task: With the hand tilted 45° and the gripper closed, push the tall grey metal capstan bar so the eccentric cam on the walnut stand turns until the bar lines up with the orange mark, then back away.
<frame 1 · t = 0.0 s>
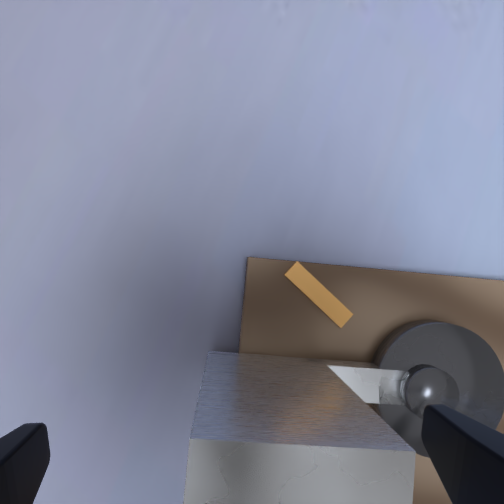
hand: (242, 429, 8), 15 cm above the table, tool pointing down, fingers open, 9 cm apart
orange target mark: (312, 292, 24), resting on walnut stand plate
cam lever: (393, 413, 17), point 8 cm above the table, hinge at 0.0°
walnut stand plate: (392, 400, 24), on the table
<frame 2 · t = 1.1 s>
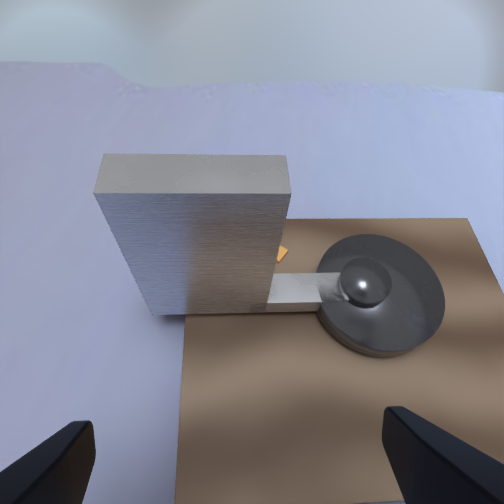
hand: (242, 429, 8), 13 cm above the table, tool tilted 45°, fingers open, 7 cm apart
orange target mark: (253, 251, 27), resting on walnut stand plate
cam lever: (313, 252, 18), point 8 cm above the table, hinge at 0.0°
walnut stand plate: (350, 337, 24), on the table
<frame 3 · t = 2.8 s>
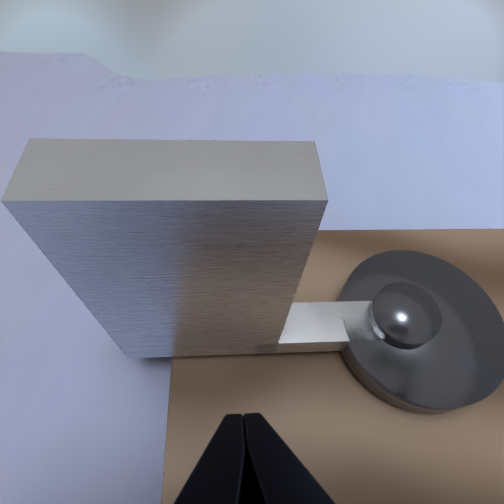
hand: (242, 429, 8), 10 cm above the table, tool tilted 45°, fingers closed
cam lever: (343, 280, 13), point 8 cm above the table, hinge at 0.0°
walnut stand plate: (382, 381, 19), on the table
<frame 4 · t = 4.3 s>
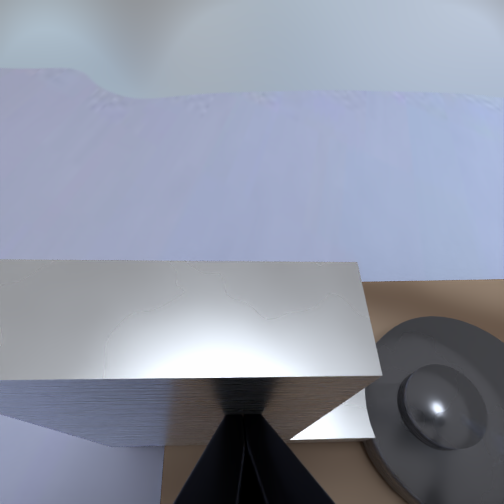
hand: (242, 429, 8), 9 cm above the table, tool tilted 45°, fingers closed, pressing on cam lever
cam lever: (374, 387, 11), point 8 cm above the table, hinge at -1.5°, touching gripper
walnut stand plate: (409, 469, 16), on the table
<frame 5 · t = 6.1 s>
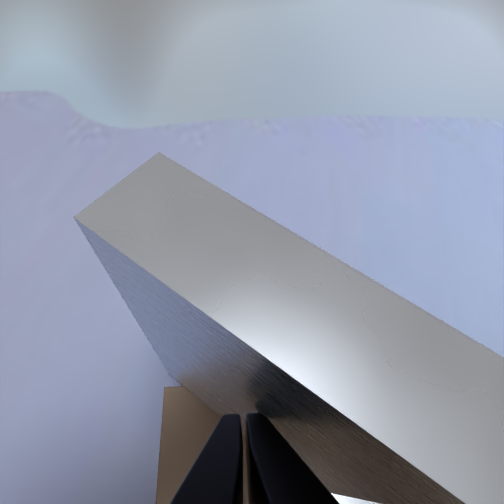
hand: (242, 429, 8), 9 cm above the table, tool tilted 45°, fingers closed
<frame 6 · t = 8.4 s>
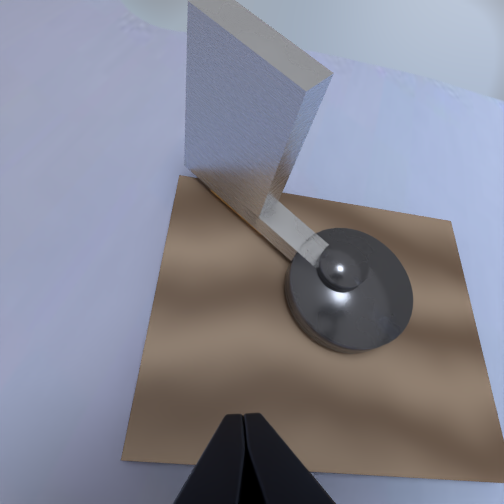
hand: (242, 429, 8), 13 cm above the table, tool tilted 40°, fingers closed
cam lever: (313, 193, 19), point 8 cm above the table, hinge at -38.8°
walnut stand plate: (318, 317, 24), on the table
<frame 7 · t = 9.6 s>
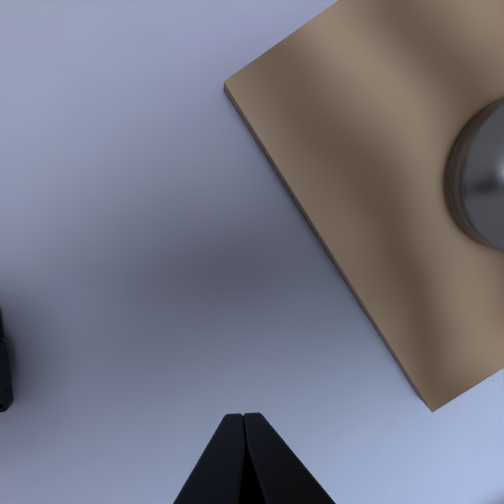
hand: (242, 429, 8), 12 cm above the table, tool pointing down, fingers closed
walnut stand plate: (466, 172, 20), on the table
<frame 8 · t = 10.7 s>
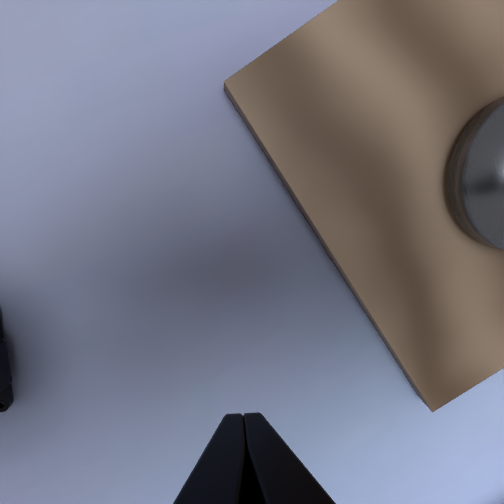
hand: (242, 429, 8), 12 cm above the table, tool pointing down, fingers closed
walnut stand plate: (466, 172, 20), on the table
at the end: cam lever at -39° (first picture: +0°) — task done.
